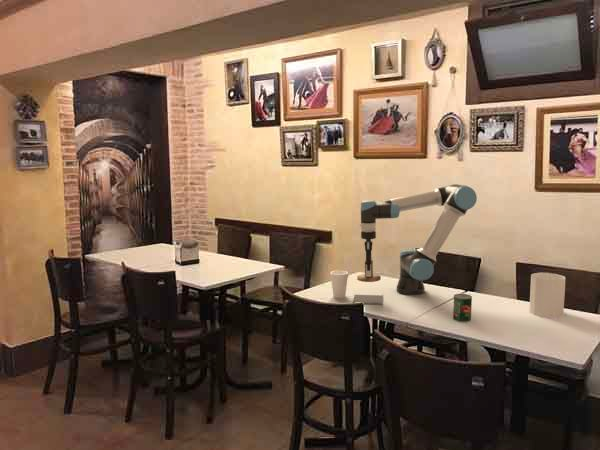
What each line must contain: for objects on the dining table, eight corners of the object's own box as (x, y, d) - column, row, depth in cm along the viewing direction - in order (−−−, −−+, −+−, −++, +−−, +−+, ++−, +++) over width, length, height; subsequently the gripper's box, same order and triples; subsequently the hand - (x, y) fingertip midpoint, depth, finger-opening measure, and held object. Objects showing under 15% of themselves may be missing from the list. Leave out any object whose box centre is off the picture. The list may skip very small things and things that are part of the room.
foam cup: (348, 298, 268) (348, 274, 266) (331, 298, 268) (330, 274, 266) (347, 293, 277) (347, 270, 275) (330, 293, 277) (330, 270, 275)
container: (549, 320, 230) (551, 281, 227) (522, 311, 242) (524, 275, 240) (569, 315, 236) (572, 277, 234) (542, 307, 249) (544, 271, 246)
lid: (380, 276, 268) (380, 258, 266) (380, 282, 256) (380, 263, 255) (357, 276, 270) (357, 258, 268) (356, 281, 258) (356, 263, 257)
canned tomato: (468, 323, 227) (469, 299, 225) (451, 320, 231) (451, 297, 230) (473, 318, 234) (473, 295, 232) (455, 315, 238) (456, 292, 236)
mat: (382, 296, 270) (382, 295, 270) (382, 304, 256) (382, 303, 256) (354, 295, 273) (354, 294, 273) (352, 303, 258) (352, 302, 258)
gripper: (361, 228, 268) (362, 271, 271) (360, 233, 252) (360, 279, 255) (376, 228, 267) (376, 271, 270) (375, 233, 250) (375, 279, 254)
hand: (368, 275), depth 263 cm, fingers closed on lid, 4 cm apart
